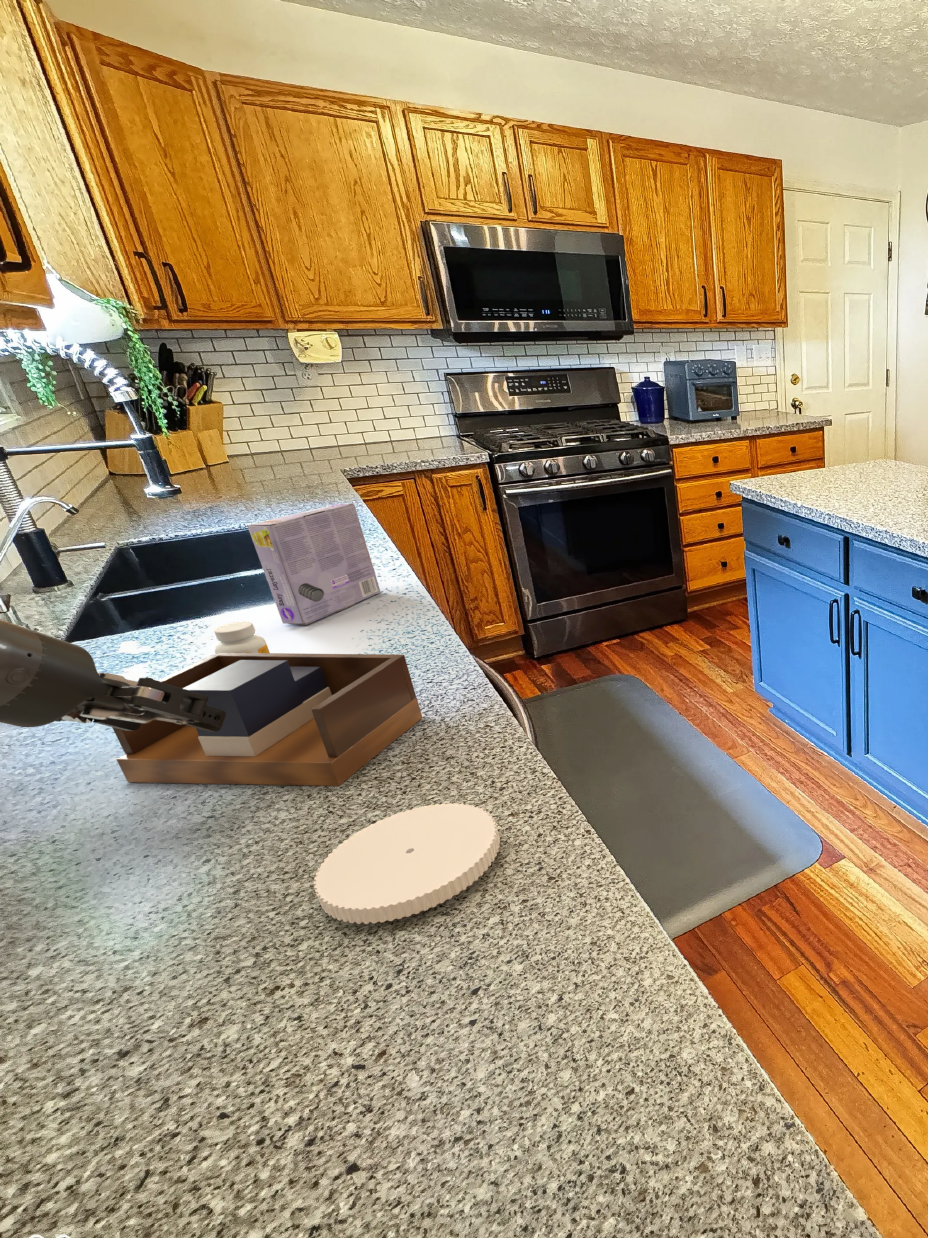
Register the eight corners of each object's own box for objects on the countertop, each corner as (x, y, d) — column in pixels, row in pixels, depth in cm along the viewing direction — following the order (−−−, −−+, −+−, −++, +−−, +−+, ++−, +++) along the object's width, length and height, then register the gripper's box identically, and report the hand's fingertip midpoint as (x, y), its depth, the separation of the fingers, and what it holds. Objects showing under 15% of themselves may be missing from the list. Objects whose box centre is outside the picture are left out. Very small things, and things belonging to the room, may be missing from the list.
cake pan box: (363, 590, 136) (336, 500, 129) (387, 590, 136) (361, 500, 129) (279, 626, 119) (242, 524, 112) (306, 627, 118) (271, 525, 111)
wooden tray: (127, 782, 76) (91, 710, 73) (242, 715, 90) (217, 652, 87) (338, 786, 76) (312, 713, 72) (422, 717, 89) (404, 654, 86)
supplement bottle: (248, 702, 94) (221, 636, 90) (223, 695, 95) (196, 631, 92) (290, 685, 98) (267, 622, 94) (266, 679, 100) (242, 617, 96)
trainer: (255, 756, 76) (228, 691, 72) (205, 756, 76) (177, 690, 73) (335, 704, 87) (315, 645, 83) (291, 703, 87) (269, 645, 84)
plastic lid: (512, 890, 61) (506, 867, 60) (317, 959, 54) (306, 935, 53) (492, 807, 72) (487, 787, 71) (328, 856, 65) (319, 835, 64)
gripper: (94, 625, 56) (260, 687, 71) (-73, 624, 57) (126, 685, 72) (53, 714, 53) (234, 759, 69) (-123, 712, 54) (95, 757, 69)
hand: (179, 721), depth 70 cm, fingers open, 8 cm apart
